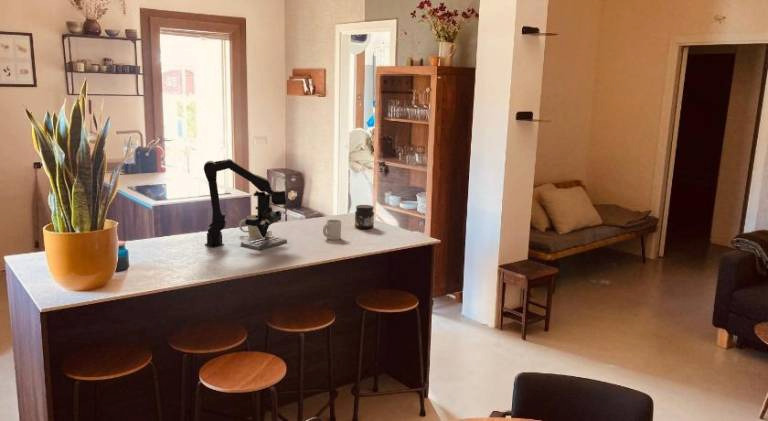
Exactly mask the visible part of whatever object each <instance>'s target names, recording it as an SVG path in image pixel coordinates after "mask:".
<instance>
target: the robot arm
mask: <svg viewBox="0 0 768 421" xmlns="http://www.w3.org/2000/svg"><path fill="white" fill-rule="evenodd" d="M227 169H229V170H230V171H232V172H234V173H235V174H237V175H238V176H240V177H242V178H243V179H245V180H247V181H249V182H250V183H251V184H252V185H253V186H254V187H256V189H258V190H255V192H254V193H253V196H254V197H257V206H255V210H257V214H255V215H256V218H248V219H247V218H245V219H246V220H245V222H244V223H245V225H246V226H248V225H250V226H257V228H258V229H259V231H260V233H261V237H265V235H266V232H267V231H269V230H268V229H269V227H270V226H271V225H272V224H274V223H279V221H282V211H280V210H277V211H273V208H272V207H271V204H273V206H287V205H286V204H287V198H286V190H274V189H273V188H272V187H271V183H270V181H269V180H268V178H266V177H263V176H260V175H258V174H254V173H253V172H251V171H250V170H248V169H247V168H245V167H243V166H241V165H240V164H238V163H237V162H235V161H234V160H232V159H231V158H227V159H223V160H218V161H217V160H216V161H213V160H207V161H206V162H205V163H204V165H203V171H204V174H205V178H206V179H207V182H208V188H209V195H210V203H211V209H212V215H211V216H212V219H211V220H212V221H211V223H210V224H209V225H208V226H207V233H206V243H205V244H204V246H207V247H210V248H217V247H222V246H224V245H225V243H223V234H222V233H223V232H222V231H223V230H224V229H225V227H226V224H227V218H226V212H224V211H222V209H221V203H220V196H219V190H218V180H217V178H218V177H217V174H218V172H220V171H224V170H227ZM257 218H258V219H257Z"/></svg>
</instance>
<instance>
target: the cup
mask: <svg viewBox="0 0 768 421" xmlns="http://www.w3.org/2000/svg"><path fill="white" fill-rule="evenodd" d="M322 233H323V236H324V237H326V239H327V240H331V241H337V240H341V237H342V221H341V220H340V219H327V220H326V224H324V226H323V228H322Z"/></svg>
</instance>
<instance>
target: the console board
mask: <svg viewBox="0 0 768 421" xmlns="http://www.w3.org/2000/svg"><path fill="white" fill-rule="evenodd" d="M286 243H288V239H287V238H283V237H278V236H273V235H272V237H270V239H269V240H265V237H262V236H261V237H257V238H254V239H250V240H245V241H242V242H240V246H241V247H243V248H249V249H252V250H258V251H261V250H264V249H269V248H272V247H275V246H279V245H282V244H286Z"/></svg>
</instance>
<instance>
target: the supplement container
mask: <svg viewBox="0 0 768 421" xmlns="http://www.w3.org/2000/svg"><path fill="white" fill-rule="evenodd" d="M374 220H375V212H374V206H373V205H371V204H358V205H356V207H355V212H354V227H355V228H356V229H358V230H366V231H367V230H368V231H369V230H371V229H373V228H374V227H375V226H374V223H375V221H374Z"/></svg>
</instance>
